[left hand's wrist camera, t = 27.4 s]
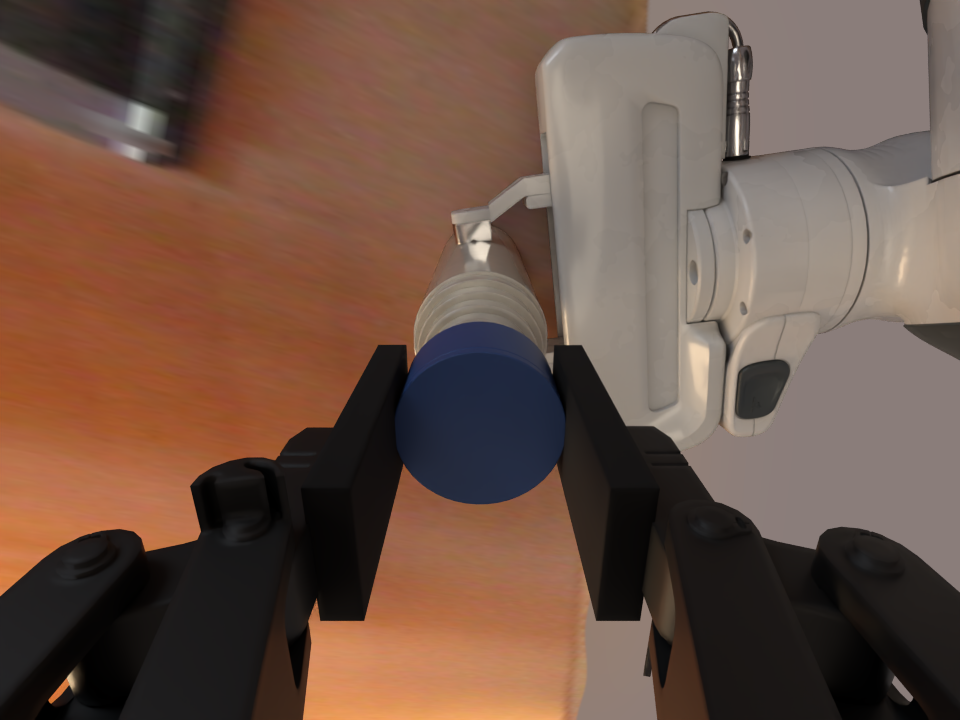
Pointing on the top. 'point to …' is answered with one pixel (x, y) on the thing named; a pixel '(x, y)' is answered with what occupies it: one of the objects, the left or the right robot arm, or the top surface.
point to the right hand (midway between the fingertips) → (463, 291)
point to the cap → (480, 415)
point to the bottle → (481, 291)
